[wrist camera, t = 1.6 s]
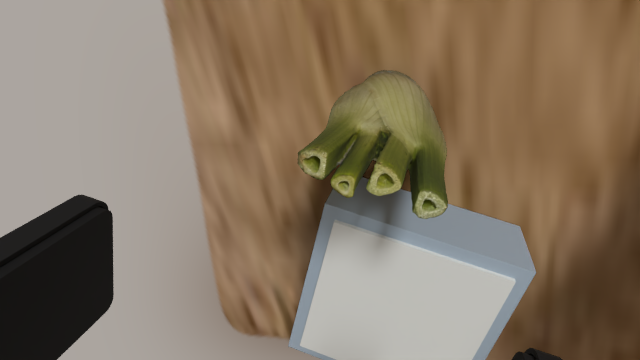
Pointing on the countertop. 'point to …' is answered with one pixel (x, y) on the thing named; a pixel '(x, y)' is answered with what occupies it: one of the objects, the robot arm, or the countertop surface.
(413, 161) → the fennel bulb
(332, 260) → the base block
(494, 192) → the countertop surface
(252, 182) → the countertop surface
